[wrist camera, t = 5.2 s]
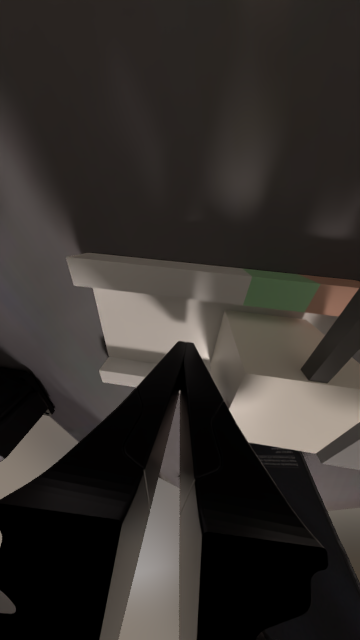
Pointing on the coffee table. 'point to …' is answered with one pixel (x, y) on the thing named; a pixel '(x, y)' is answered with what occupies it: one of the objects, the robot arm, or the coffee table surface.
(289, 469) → the small box
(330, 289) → the base
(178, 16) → the coffee table surface
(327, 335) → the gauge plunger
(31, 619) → the robot arm
